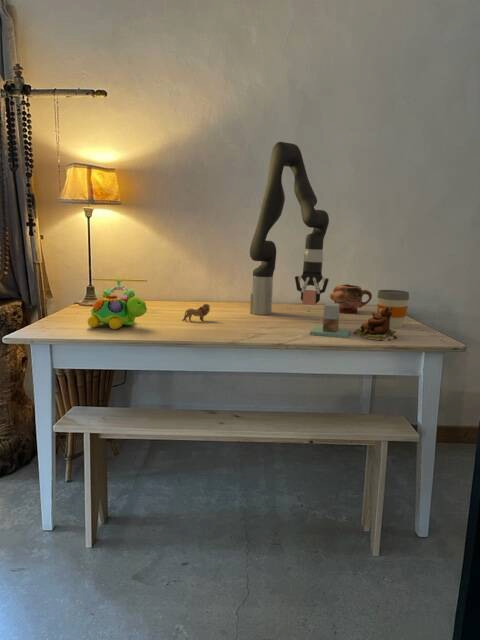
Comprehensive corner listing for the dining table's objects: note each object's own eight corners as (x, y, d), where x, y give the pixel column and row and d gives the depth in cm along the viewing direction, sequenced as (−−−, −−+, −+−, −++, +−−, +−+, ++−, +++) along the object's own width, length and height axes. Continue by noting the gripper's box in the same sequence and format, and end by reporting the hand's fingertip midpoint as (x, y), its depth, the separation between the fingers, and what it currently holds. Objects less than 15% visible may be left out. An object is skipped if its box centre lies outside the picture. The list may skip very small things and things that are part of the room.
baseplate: (309, 334, 182) (309, 331, 182) (314, 328, 194) (314, 325, 194) (347, 338, 178) (347, 334, 178) (350, 331, 190) (350, 328, 189)
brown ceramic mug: (365, 312, 239) (367, 284, 236) (374, 316, 227) (376, 287, 224) (325, 311, 237) (327, 283, 234) (332, 316, 225) (334, 286, 222)
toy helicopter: (148, 308, 231) (148, 278, 228) (145, 311, 222) (145, 280, 219) (95, 307, 229) (94, 276, 226) (90, 310, 220) (89, 278, 218)
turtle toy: (138, 331, 180) (137, 300, 178) (80, 327, 184) (79, 296, 182) (154, 323, 196) (154, 294, 194) (101, 319, 200) (100, 291, 198)
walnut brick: (322, 331, 183) (323, 318, 182) (325, 328, 190) (326, 315, 189) (336, 332, 182) (336, 319, 181) (338, 329, 188) (338, 316, 188)
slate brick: (323, 318, 182) (324, 305, 182) (326, 315, 189) (326, 302, 188) (336, 319, 181) (337, 306, 180) (338, 316, 188) (339, 303, 187)
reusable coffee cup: (390, 331, 194) (393, 294, 191) (368, 325, 205) (371, 290, 202) (412, 328, 200) (416, 292, 197) (390, 323, 211) (393, 289, 208)
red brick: (302, 303, 195) (303, 291, 194) (305, 301, 202) (306, 289, 201) (314, 305, 194) (315, 292, 193) (317, 302, 201) (318, 290, 200)
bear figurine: (368, 331, 193) (370, 301, 191) (403, 338, 182) (406, 306, 180) (348, 335, 184) (351, 304, 182) (384, 343, 173) (387, 309, 171)
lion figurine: (208, 319, 207) (208, 303, 205) (211, 321, 203) (211, 304, 201) (180, 321, 202) (180, 303, 201) (183, 322, 198) (183, 305, 197)
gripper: (293, 259, 193) (291, 301, 196) (329, 262, 189) (326, 305, 192) (297, 258, 200) (294, 299, 203) (332, 261, 196) (328, 302, 199)
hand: (310, 301), depth 198 cm, fingers closed on red brick, 5 cm apart
